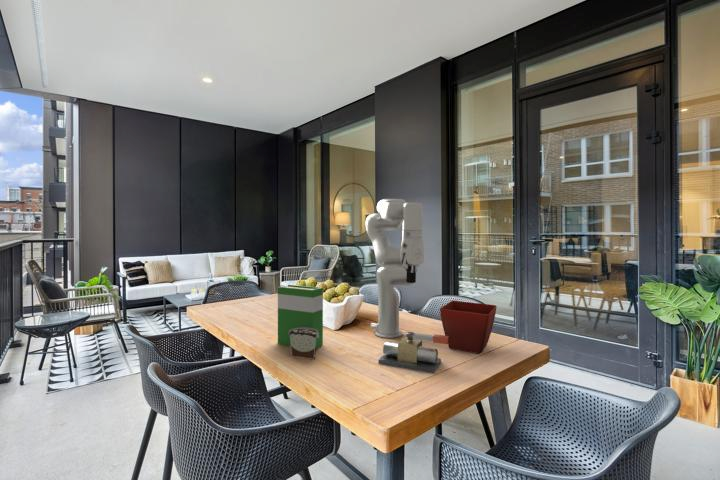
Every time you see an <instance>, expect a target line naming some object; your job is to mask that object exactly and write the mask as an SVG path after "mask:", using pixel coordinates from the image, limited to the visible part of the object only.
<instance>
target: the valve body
mask: <svg viewBox="0 0 720 480" xmlns="http://www.w3.org/2000/svg"><path fill="white" fill-rule="evenodd" d="M438 352H439V351H438V348H433V347H428V346H427V347H425V346H423V340H418V339H413V340H409V339H406V336H403V337H402V338H401V339H400V340H399V341H397V342H395V341H394V342H393V341H385V342H384V343H383V346H382V353H383V355H382V356H381V357H379V358H378V364H379V365H384V366H389V367H390V366H391V367H396V368H400V369H401V368H402V369H408V370H412V371H419V372H423V373H429V374H435V372H436V371H437V369H438V368H439V367H440V365H441V364H442V358H439V357H438V355H439V353H438Z"/></svg>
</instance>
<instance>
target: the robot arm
mask: <svg viewBox="0 0 720 480" xmlns="http://www.w3.org/2000/svg"><path fill="white" fill-rule="evenodd" d="M376 211H377V213H372V214H369V215H368V216H367V217H366V219H365V230H366V233H367V235H368V238H369V240H370V241H371V243H372V247H373V252H374V256H375V261H376V263H377V265H378V266H379V268H378V269H377V271H376V282H377V290H378V291H377V292H378V293H377V294H378V299H377V300H378V305H377V306H378V307H377V308H378V309H377V310H378V311H377V312H378V316H377V317H378V318H377V320H378V321H377V323H374V322H371V323H370V329H375V330H374V335H375V336H377V337H379V338H384V339H394V338H395V339H396V338H400V337H401V336H402V335H403V331H402V330H400V296H399V293H398V292H397V290H396V289H395V287H410V286H412V285H413V284H414V283H416V281H417V272H418V271H417V270H418V267H420V266H421V264H423V263H424V261H425V260H424V259H425V257H424V255H425V253H424V249H425V248H424V240H423V221H424V220H423V217H424V215H423V214H424V213H423V212H424V205H423V204H422V203H421V202H407V201H406V200H405V199H403V198H383V199H381V200H379V201H378V202H377V205H376ZM401 227H402V232H401V233H402V235H401V236H402V237H401V238H402V240H401V246H392V245H391V241H390V238H389V237H388V236H387V235H386V234H385V233H383V232H384V231H385V232H387V231H388V232H392V231H393V232H394V231H398V230H400V229H401ZM382 231H383V232H382Z"/></svg>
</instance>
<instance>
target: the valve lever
mask: <svg viewBox="0 0 720 480" xmlns="http://www.w3.org/2000/svg"><path fill="white" fill-rule="evenodd" d="M405 337H406V339H409V340H413V339H418V340H422V341H427V342H432V343H433V344H441V345H448V343H449V336H445V334H444V335H442V334H434V335H432V334H424V333H415V332H413V331H407V332H405Z"/></svg>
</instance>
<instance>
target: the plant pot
mask: <svg viewBox="0 0 720 480" xmlns="http://www.w3.org/2000/svg"><path fill="white" fill-rule="evenodd" d="M439 312H440V318H441V319H440V320H441V325H442V329H443V332H444V336H449V343H448V344H447V345H448V348H449V350H457V351H462V352H469V353H474V354H482V353H483V352H484V350H485V349H486V346H488V343H489V341H490V337H491V334H492V331H493V328H494V323H495V319H496V314H497V313H496V312H497V305H495V304H488V303H487V304H486V303H479V302H471V301H470V302H468V301H461V300H450V301H449V302H447V304H445V305H443V306H441V307H440V308H439Z"/></svg>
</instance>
